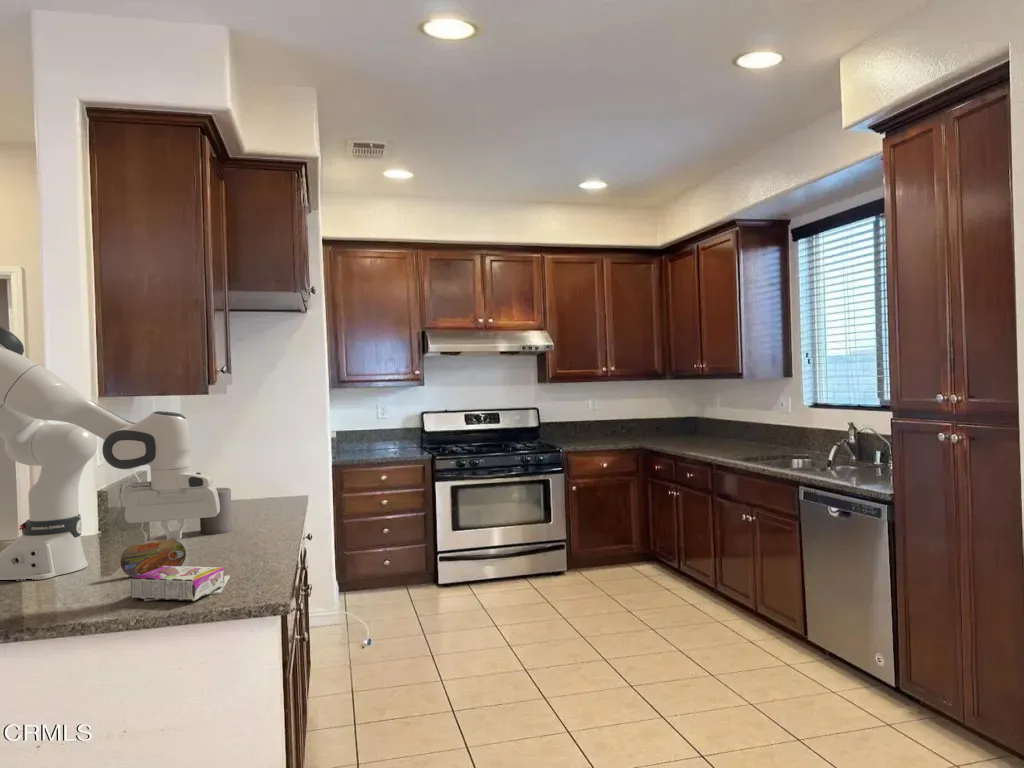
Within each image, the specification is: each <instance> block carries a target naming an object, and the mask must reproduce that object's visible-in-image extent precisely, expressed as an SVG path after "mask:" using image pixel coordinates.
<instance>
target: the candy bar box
mask: <svg viewBox="0 0 1024 768" xmlns="http://www.w3.org/2000/svg"><path fill="white" fill-rule="evenodd" d="M224 574H225V567H224V566H189V565H188V566H187V565H181V566H162V567H160V568H157V569H155V570H152V571H149V572H147V573H144V574H142V575H139V576H136V577H131V580H130V586H131V599H137V600H138V599H140V600H144V599H160V600H163V601H166V600H167V601H168V600H169V601H192V602H194V601H196V600H199V599H201V598H203V597H206V596H207V595H208V594H210V593H212V592H214V591H216V590H218V589H220V588H222V587H224V588H225V586H224V576H225V575H224ZM210 595H211V594H210Z"/></svg>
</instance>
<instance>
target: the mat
mask: <svg viewBox="0 0 1024 768" xmlns="http://www.w3.org/2000/svg"><path fill="white" fill-rule="evenodd" d="M230 577H231V575H229V574H228V575H224V587H222V588H220V589H218V590H216V591H214V592H212V593H210V594H208V595H217V594H218V595H219V594H221V593H222V591H223V590H224V588H225V586H226V585H227V583H228V580H229V579H230ZM158 600H159V601H161V599H143V602H147V601H158Z"/></svg>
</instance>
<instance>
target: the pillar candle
mask: <svg viewBox="0 0 1024 768" xmlns="http://www.w3.org/2000/svg"><path fill="white" fill-rule="evenodd" d="M213 486H214V487H215V488H216V489H217V492H218V497H219V503H220V511H219V513H218V514H217V515H216V516H215V517H205V518H199V525H200V527H199V528H200V532H199V534H201V535H208V536H209V535H219V534H225V533H229V532H231V531H232V530H233V529H232V526H233V525H232V521H233V518H232V495H231V494H232V493H231V491H232V488H229V487H216V486H215V485H213Z"/></svg>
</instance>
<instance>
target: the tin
mask: <svg viewBox="0 0 1024 768" xmlns="http://www.w3.org/2000/svg"><path fill="white" fill-rule="evenodd" d="M186 557H187V551H186V547H185V546H184V545H183V543H181V542H180V541H178V540H177V539H168V540H167V538H166V539H160V540H154V541H147V542H141V543H135V544H132V545H131V546H128V547H127V548H126V549H125V550H124V551H123V553H122V554H121V557H120V567H121V570H122V571H123V573H124V574H125V575H126V576H128V577H131V578H134V577H136V576H139V575H142V574H144V573H147V572H149V571H152V570H155V569H157V568H160V567H162V566H183V564H184V563H185V560H186Z"/></svg>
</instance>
